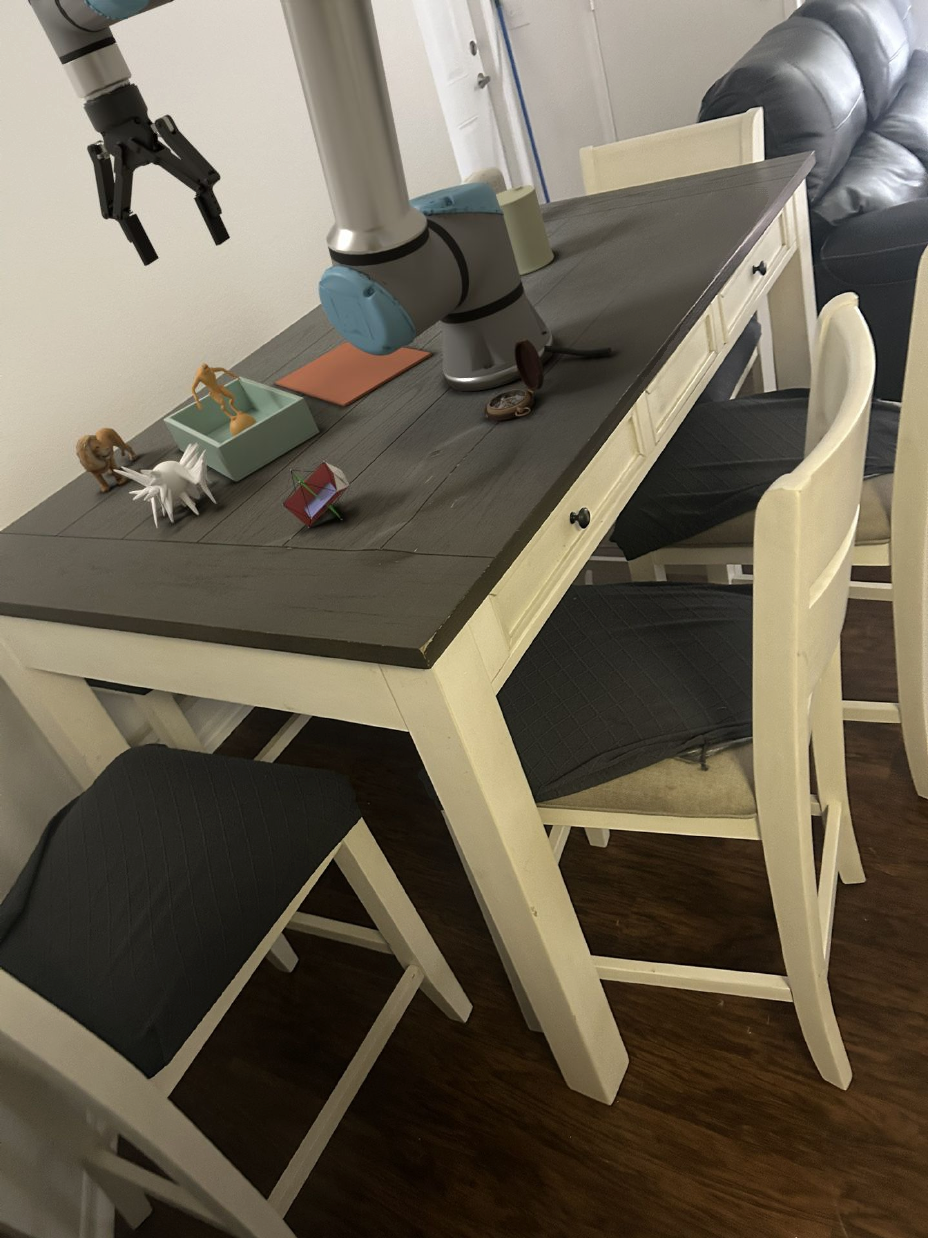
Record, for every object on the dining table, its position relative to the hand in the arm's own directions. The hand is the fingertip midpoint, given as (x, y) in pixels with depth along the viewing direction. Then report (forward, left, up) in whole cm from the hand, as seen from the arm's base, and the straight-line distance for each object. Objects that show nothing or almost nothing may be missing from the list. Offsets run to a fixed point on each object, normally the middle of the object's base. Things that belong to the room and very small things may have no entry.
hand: (186, 252), depth 132 cm
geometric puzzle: (-47, +13, -24) cm, 54 cm away
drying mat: (-8, -13, -24) cm, 28 cm away
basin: (-12, +8, -24) cm, 28 cm away
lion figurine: (+2, +24, -24) cm, 34 cm away
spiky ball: (-23, +23, -24) cm, 41 cm away
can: (-7, -51, -24) cm, 57 cm away
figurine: (-12, +8, -24) cm, 28 cm away
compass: (-50, -14, -24) cm, 57 cm away
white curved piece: (+15, -61, -24) cm, 67 cm away
